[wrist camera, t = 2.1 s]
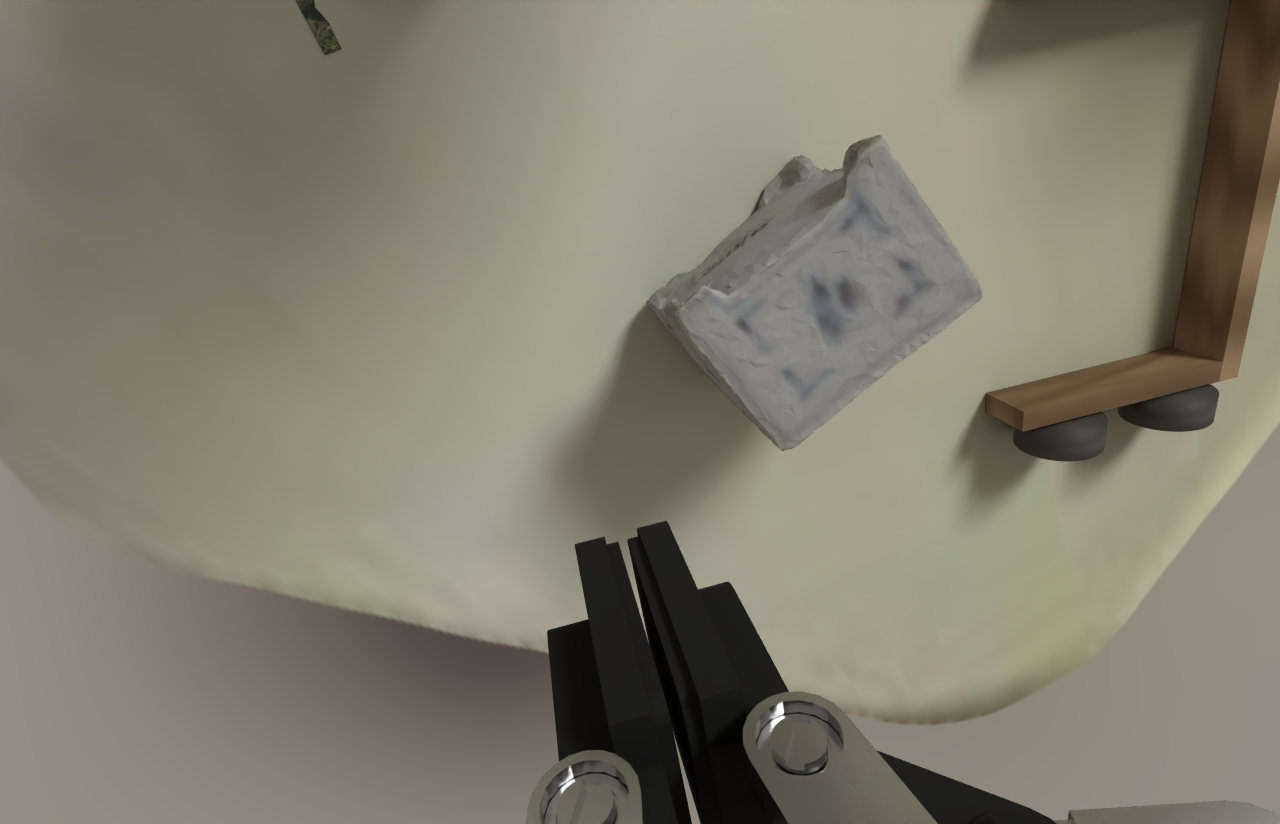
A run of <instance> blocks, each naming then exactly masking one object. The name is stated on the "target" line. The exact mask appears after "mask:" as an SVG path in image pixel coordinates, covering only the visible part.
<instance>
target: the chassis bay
mask: <svg viewBox="0 0 1280 824" xmlns="http://www.w3.org/2000/svg"><path fill="white" fill-rule="evenodd" d="M1279 179H1280V0H1231V3H1230V9H1229V15H1228V21H1227V27H1226V33H1225V39H1224V45H1223V51H1222V57H1221V63H1220V69H1219V75H1218V81H1217V87H1216V93H1215V99H1214V105H1213V111H1212V117H1211V123H1210V129H1209V135H1208V141H1207V147H1206V153H1205V159H1204V165H1203V171H1202V177H1201V183H1200V189H1199V195H1198V201H1197V207H1196V213H1195V219H1194V225H1193V231H1192V237H1191V243H1190V249H1189V255H1188V261H1187V267H1186V273H1185V279H1184V285H1183V291H1182V296H1181V302H1180V308H1179V314H1178V320H1177V326H1176V332H1175V338H1174V344H1173V347H1171V348H1167V349H1163V350H1159V351H1155V352H1151V353H1147V354H1143V355H1139V356H1135V357H1131V358H1127V359H1123V360H1119V361H1115V362H1111V363H1107V364H1103V365H1098V366H1094V367H1090V368H1086V369H1082V370H1078V371H1074V372H1070V373H1066V374H1062V375H1058V376H1054V377H1050V378H1046V379H1042V380H1038V381H1034V382H1030V383H1026V384H1022V385H1017V386H1013V387H1009V388H1005V389H1001V390H997V391H993V392H989V393H986V409H985V412H987V413H988V414H990V415H992V416H994V417H996V418H998V419H1000V420H1001V421H1003V422H1005V423H1007V424H1009V425H1011V426H1012V427H1014V436H1013V441H1014V444H1015V445H1016V446H1017V447H1018V448H1019V449H1020V450H1022V451H1023V452H1025V453H1027V454H1030V455H1032V456H1035V457H1039V458H1043V459H1048V460H1055V461H1079V460H1085V459H1090V458H1093V457H1095V456H1097V455H1099V454H1100V453H1101V452H1102V451H1103V450H1104V445H1105V437H1106V429H1107V422H1108V421H1107V417H1106V416H1105V415H1104V414H1103V413H1102V411H1106V410H1110V409H1114V408H1118V413H1119V415H1120V416H1121V417H1122V418H1123V419H1124V420H1126V421H1128V422H1130V423H1132V424H1135V425H1138V426H1141V427H1145V428H1149V429H1154V430H1161V431H1175V432H1181V431H1194V430H1199V429H1203V428H1206V427H1208V426H1210V425H1211V424H1212V423H1213V421H1214V417H1215V412H1216V407H1217V402H1218V397H1219V392H1218V390H1217V389H1216V388H1215V387H1214V386H1212V385H1210V384H1211V383H1215V382H1219V381H1223V380H1227V379H1231V378H1235V377H1238V372H1239V367H1240V362H1241V358H1242V353H1243V348H1244V344H1245V339H1246V334H1247V329H1248V325H1249V320H1250V315H1251V311H1252V306H1253V301H1254V296H1255V292H1256V287H1257V282H1258V278H1259V273H1260V268H1261V264H1262V259H1263V254H1264V249H1265V245H1266V240H1267V235H1268V231H1269V226H1270V221H1271V216H1272V212H1273V207H1274V202H1275V198H1276V193H1277V188H1278V184H1279Z"/></svg>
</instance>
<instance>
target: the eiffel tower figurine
mask: <svg viewBox="0 0 1280 824" xmlns="http://www.w3.org/2000/svg"><path fill="white" fill-rule="evenodd" d="M296 2H297V4H298V5H299V7H300V9H301V11H302V13H303V15H304V16H305V18H306V20H307V22H308V24H309V26H310V27H311V29H312V31H313V33H314V35H315V37H316V39H317V41H318V43H319V44H320V46H321V48H322V50H323V52H324V54H325V55H326V54H329V53H331V52H334V51H337V50H340V49H341V47H340V45H339V43H338V41H337V39H336V37H335V35H334V33H333V31H332V29H331V27H330V25H329V23H328V21H327V20H326V19H325V18H324V17H323V16H322V15H321V13H320V12H319V11H318V10H317V9H316V8H315V4H314V0H296Z"/></svg>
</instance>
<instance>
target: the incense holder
mask: <svg viewBox="0 0 1280 824" xmlns="http://www.w3.org/2000/svg"><path fill="white" fill-rule="evenodd" d="M981 298H982V292H981V288H980V285H979V282H978V280H977V279H976V277H975V276H974V274H973V273H972V271H971V270H970V268H969V266H968V265H967V263H966V262H965V261H964V259H963V258H962V256H961V255H960V254H959V252H958V250H957V249H956V247H955V245H954V244H953V242H952V241H951V239H950V237H949V236H948V234H947V233H946V231H945V230H944V228H943V227H942V226H941V224H940V223H939V221H938V220H937V218H936V216H935V215H934V213H933V212H932V211H931V210H930V208H929V207H928V206H927V204H926V203H925V202H924V200H923V199H922V197H921V195H920V194H919V192H918V190H917V189H916V187H915V186H914V184H913V183H912V182H911V181H910V179H909V178H908V177H907V175H906V174H905V172H904V170H903V169H902V168H901V166H900V165H899V163H898V162H897V160H896V159H895V157H894V156H893V154H892V153H891V151H890V148H889V146H888V144H887V142H886V140H885V139H884V138H883V137H882V136H880V135H878V136H874V137H870V138H867V139H864V140H861V141H858V142H856V143H854V144H853V145H851V146H850V147H849V148H848V150H847V151H846V153H845V157H844V162H843V167H842V168H841V169H838V170H837V169H834V170H833V171H829V170H827V169H824V170H821V169H819V168H817V167H815V165H814V164H813V163H812V162H811V161H810V159H809V158H807V157H804V156H802V155H801V156H797V157H794V158H793V159H792V160H791V161H790V162H788V163H787V164H786V165H785V167H784V168H783V170H782V171H781V172H780V173H779V174H778V175H777V176H776V178H774V179H773V180H772V181H771V182H770V183H769V184H767V185H766V188H765V190H764V193H763V195H762V198H761V200H760V202H759V208H758V209H757V211H756V212H755V213H754V214H753V215H751V216H750V217H749V218H748V219H747V220H746V221H745V222H744V223H743V224H741V225H740V226H739V227H738V228H737V229H735V230H734V231H733V232H732V233H731V234H730V235H729V236H728V237H727V238H725V239H724V240H723V241H722V242H721V243H720V244H719V245H718V246H717V247H716V248H715V250H714V251H713V252H712V253H711V254H710V255H709V256H708V258H707V259H706V260H705V261H704V262H703V263H702V264H701V265H700V266H699V267H698V268H696V269H693V271H692V272H689V273H682V274H678V275H676V276H675V277H674V278H673V279H672V280H671V281H670V282H669V283H668V284H667V285H666V286H665V287H664V288H661V289H659V290H657V291H656V292H655V293H654V294H653V295H652V296H651V297H650V298H649V300H648V301H647V302H646V303H647V305H648V306H649V307H650V308H651V309H652V310H653V312H654V313H655V314H656V316H657V317H658V318H659V319H660V320H661V322H662V323H663V324H664V325H665V326H666V327H667V328H668V330H669V331H670V332H671V333H672V334H673V336H674V337H675V338H676V339H677V340H678V341H679V342H680V343H681V345H682V346H683V347H684V348H685V350H686V352H687V353H688V354H689V355H690V356H691V357H692V358H693V359H694V360H695V362H696V364H697V365H698V366H700V368H701V369H702V370H703V371H704V373H705V374H706V375H707V376H708V377H709V378H710V379H711V380H712V382H713V383H714V384H715V385H716V386H718V387H719V389H720V390H721V391H722V392H723V393H724V394H725V395H726V397H727V398H728V399H729V400H730V401H731V402H732V403H733V404H734V405H735V406H736V407H737V408H739V409H741V410H742V411H743V414H745V415H746V416H747V417H748V419H750V420H751V422H753V423H755V424H756V425H757V427H758V428H759V430H760V431H761V432H762V433H764V434H765V435H766V436H767V437H768V438H769V439H770V440H772V442H773V443H774V444H775V445H776V446H777V447H778V448H779V449H781V450H782V451H784V450H786V449H792V448H794V447H796V446H798V445H799V444H800V443H801V442H803V441H804V440H805V439H806V438H808V437H809V436H810V435H811V434H812V433H813V432H814V431H815V430H817V429H818V428H819V427H821V426H822V425H823V424H824V423H826V422H827V421H828V420H830V419H831V418H832V417H833V416H834V415H835V414H837V413H838V412H839V411H840V410H841V409H842V408H844V407H845V406H846V405H847V404H848V403H850V402H851V401H852V400H853V399H854V398H855V397H857V396H858V395H859V394H860V393H861V392H863V391H864V390H866V389H867V388H869V387H870V386H871V385H872V384H873V383H874V382H875V381H876V380H878V379H879V378H880V377H881V376H882V375H884V374H885V373H886V372H887V371H889V370H890V369H891V368H893V367H894V366H895V365H896V364H898V363H899V362H900V361H902V360H903V359H904V358H906V357H907V356H909V355H910V354H912V353H913V352H915V351H916V350H917V349H919V348H920V347H921V346H922V345H924V344H925V343H926V342H928V341H929V340H930V339H932V338H933V337H935V336H936V335H937V334H938V333H940V332H941V331H942V330H944V329H945V328H946V327H947V326H948V325H949V324H950V323H951V322H952V321H953V320H955V319H956V318H958V317H959V316H960V315H962V314H963V313H964V312H966V311H967V310H968V309H969V308H971V307H972V306H973V305H975V304H976V303H977V302H978V301H980V299H981Z"/></svg>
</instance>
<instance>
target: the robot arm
mask: <svg viewBox="0 0 1280 824" xmlns="http://www.w3.org/2000/svg"><path fill="white" fill-rule="evenodd" d="M637 533H638V537H634V538H631V539H628V546H629V551H630V555H631V560H632V565H633V570H634V574H635V579H636V584H637V589H638V593H639V598H640V603H641V608H642V612H643V617H644V622H645V627H646V631H647V636H648V640H647V636H646V633H645V630H644V626H643V623H642V620H641V616H640V613H639V610H638V606H637V603H636V600H635V596H634V593H633V590H632V586H631V583H630V580H629V576H628V573H627V570H626V566H625V563H624V560H623V556H622V553H621V550H620V546H619V543H618V542H615V543H611V544H606V541H605V537H601V538H598V539H594V540H590V541H586V542H582V543H578V544H575V549H576V554H577V560H578V565H579V571H580V576H581V581H582V587H583V592H584V597H585V603H586V608H587V614H588V620H584V621H580V622H577V623H573V624H569V625H566V626H562V627H558V628H554V629H551V630H548V632H547V636H548V648H549V659H550V670H551V679H552V691H553V702H554V712H555V723H556V733H557V744H558V755H559V762H558V763H556V764H554V765H553V766H552V767H551V768H550V769H549V770H548V771H547V772H546V773H545V774H544V775H543V776H542V777H541V779H540V780H539V782H538V784H537V785H536V787H535V788H534V790H533V792H532V794H531V798H530V802H529V805H528V809H527V816H526V824H692V822H691V817H690V812H689V807H688V802H687V798H686V793H685V788H684V784H683V779H682V774H681V768H680V764H679V759H678V754H677V749H676V745H675V740H674V735H675V739H676V742H677V745H678V749H679V752H680V756H681V759H682V762H683V766H684V769H685V772H686V776H687V779H688V782H689V786H690V789H691V793H692V796H693V799H694V803H695V806H696V809H697V813H698V816H699V819H700V823H701V824H1280V814H1278V813H1276V812H1273V811H1270V810H1268V809H1265V808H1262V807H1259V806H1256V805H1253V804H1250V803H1244V802H1233V801H1212V802H1211V801H1210V802H1195V803H1179V804H1164V805H1149V806H1132V807H1118V808H1101V809H1085V810H1070V811H1069V814H1068V820H1055V821H1053V820H1052V819H1050V818H1048V817H1046V816H1044V815H1042V814H1040V813H1038V812H1036V811H1034V810H1032V809H1030V808H1028V807H1025V806H1023V805H1020V804H1017V803H1015V802H1012V801H1009V800H1007V799H1004V798H1001V797H998V796H996V795H993V794H991V793H988V792H986V791H983V790H980V789H978V788H974V787H972V786H970V785H967V784H964V783H961V782H959V781H956V780H954V779H951V778H948V777H946V776H943V775H940V774H938V773H935V772H932V771H930V770H927V769H924V768H922V767H919V766H916V765H914V764H911V763H908V762H906V761H903V760H901V759H898V758H895V757H893V756H890V755H887V754H885V753H882V752H879V751H877V750H876V749H875V748H874V747H873V746H872V745H871V743H870V742H869V741H868V740H867V739H866V738H865V736H864V735H863V734H862V733H861V732H860V730H859V729H858V728H857V727H856V726H855V724H854V723H853V722H852V721H851V720H850V718H849V717H848V716H847V715H846V714H845V713H844V712H843V711H842V710H841V709H840V708H839V707H837V706H836V705H835V704H834V703H833V702H831V701H829V700H827V699H825V698H823V697H821V696H819V695H815V694H810V693H806V692H789V691H788V689H787V687H786V685H785V683H784V682H783V680H782V678H781V676H780V674H779V672H778V670H777V668H776V667H775V665H774V663H773V661H772V659H771V657H770V655H769V653H768V652H767V650H766V648H765V646H764V644H763V642H762V640H761V638H760V637H759V635H758V633H757V631H756V629H755V627H754V625H753V624H752V622H751V620H750V618H749V616H748V614H747V612H746V610H745V609H744V607H743V605H742V603H741V601H740V599H739V597H738V595H737V594H736V592H735V590H734V588H733V587H732V585H731V584H730V583H729V582H724V583H721V584H717V585H713V586H710V587H706V588H702V589H699V590H698V589H697V586H696V584H695V582H694V580H693V578H692V575H691V573H690V571H689V569H688V566H687V564H686V562H685V560H684V558H683V555H682V553H681V551H680V549H679V546H678V544H677V542H676V540H675V538H674V535H673V533H672V531H671V529H670V526H669V524H668V522H667V521H664V522H660V523H656V524H652V525H648V526H644V527H640V528H637ZM648 641H649V643H648ZM672 729H673V730H672ZM673 732H674V734H673Z"/></svg>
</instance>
